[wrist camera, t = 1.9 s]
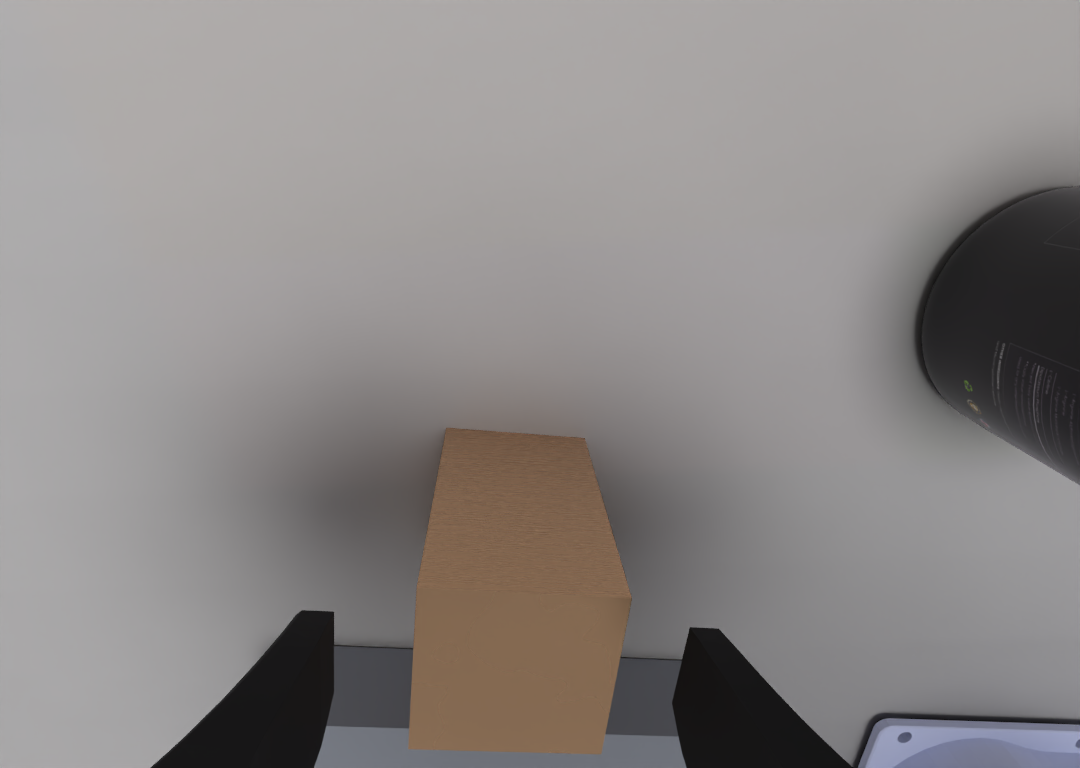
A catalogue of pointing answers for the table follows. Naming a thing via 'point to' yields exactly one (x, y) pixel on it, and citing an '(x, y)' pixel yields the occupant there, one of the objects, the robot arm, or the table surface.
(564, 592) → the brown wooden block
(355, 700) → the board with square hole
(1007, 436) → the supplement bottle
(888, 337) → the table surface
